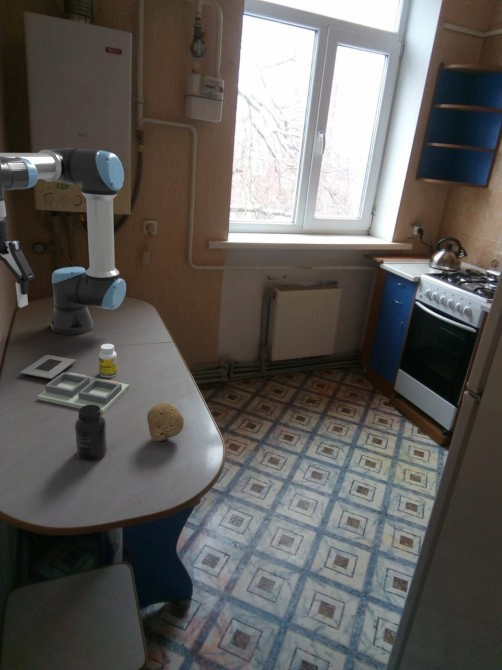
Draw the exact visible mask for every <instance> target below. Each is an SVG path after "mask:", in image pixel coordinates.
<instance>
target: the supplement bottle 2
mask: <svg viewBox="0 0 502 670" xmlns="http://www.w3.org/2000/svg"><path fill="white" fill-rule="evenodd" d="M98 368H99V369H98V371H99V375H100V377H103V378H113V377H115V376H117V374H118V357H117V352H116V351H115V345H114V344H112V343H103V344H101V345H100V352H99V353H98Z"/></svg>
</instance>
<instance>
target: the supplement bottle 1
mask: <svg viewBox="0 0 502 670" xmlns="http://www.w3.org/2000/svg"><path fill="white" fill-rule="evenodd" d="M74 431H75V432H74V433H75V445H76V446H75V447H76V448H75V449H76V454H77V457H78V458H79V459H80V460H83V461H87V462H88V461H89V462H91V461H96V460H99V459H101V458H103V457H104V456H106V455H105V454H107V451H108V450H107V449H108V445H107V443H108V442H107V422H106V419H105V417H104V416H103V415H102V413H101V409H100V407H99V406H97V405H85V406H83V407H81V408H80V409H79V408H78V418H77V419H76V421H75V423H74Z"/></svg>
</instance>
